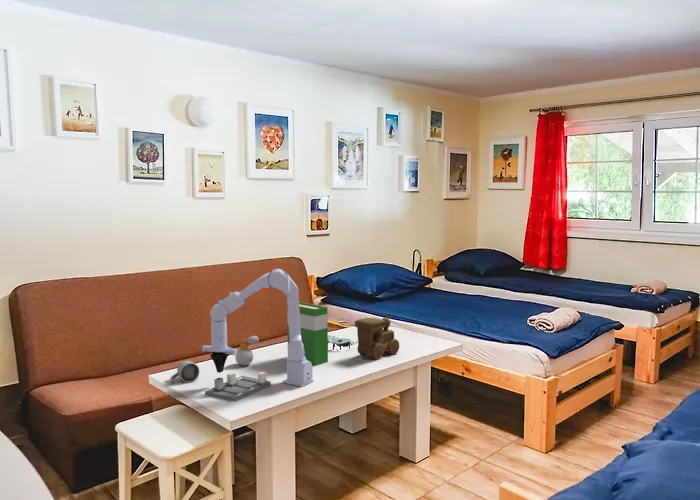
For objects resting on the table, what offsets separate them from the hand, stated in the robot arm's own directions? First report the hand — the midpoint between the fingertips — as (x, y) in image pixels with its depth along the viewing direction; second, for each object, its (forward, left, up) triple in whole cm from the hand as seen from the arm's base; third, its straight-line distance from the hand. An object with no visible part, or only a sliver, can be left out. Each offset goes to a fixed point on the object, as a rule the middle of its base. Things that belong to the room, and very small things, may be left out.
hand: (220, 371), depth 209 cm
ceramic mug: (+16, +2, -6) cm, 18 cm away
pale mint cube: (-6, 0, -4) cm, 7 cm away
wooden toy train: (-33, -66, -6) cm, 73 cm away
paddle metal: (-6, +6, -4) cm, 9 cm away
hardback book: (-10, -44, -6) cm, 45 cm away
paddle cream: (-15, -7, -4) cm, 17 cm away
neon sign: (-9, -76, -6) cm, 77 cm away
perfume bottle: (+9, -26, -6) cm, 28 cm away
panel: (-9, 0, -5) cm, 11 cm away
